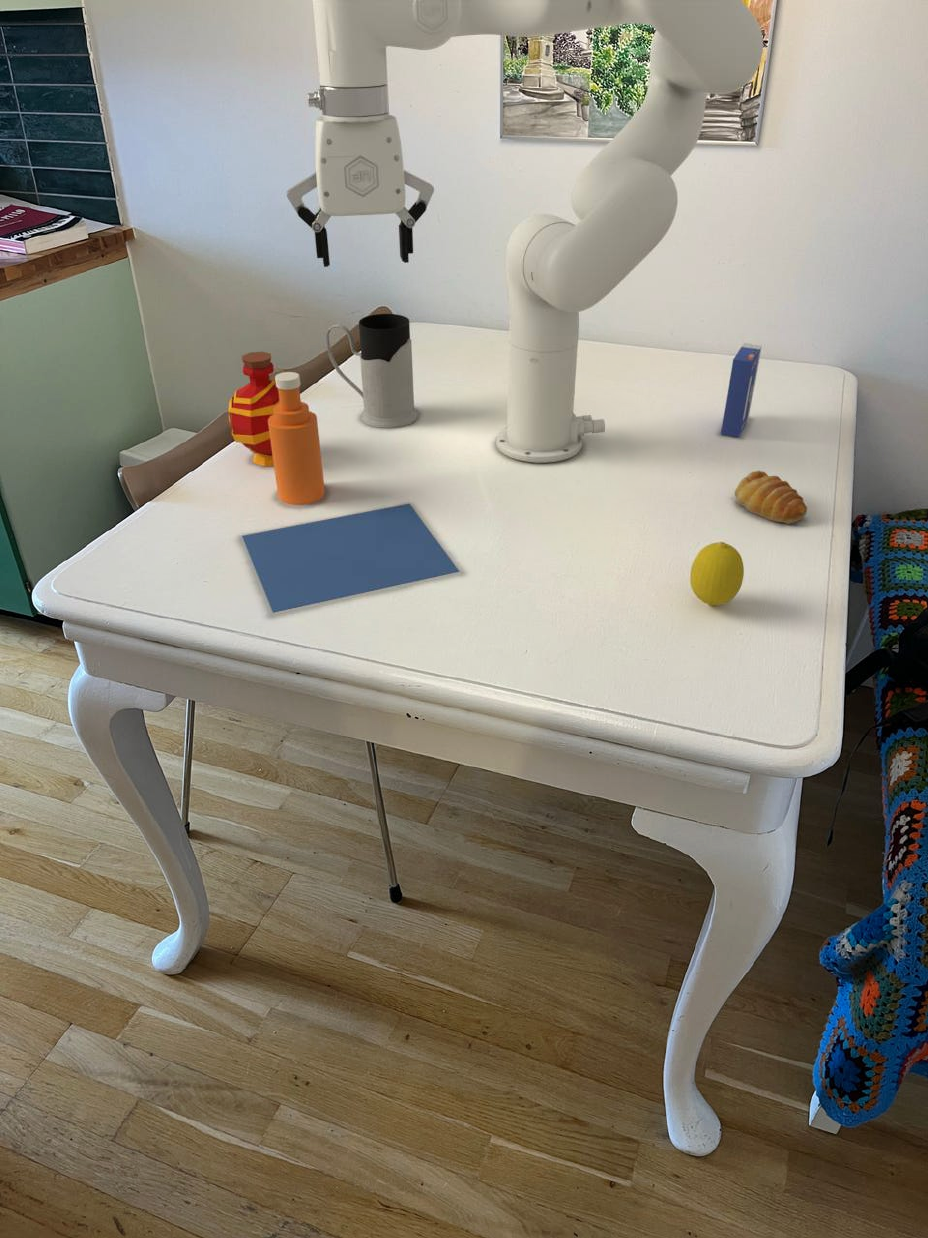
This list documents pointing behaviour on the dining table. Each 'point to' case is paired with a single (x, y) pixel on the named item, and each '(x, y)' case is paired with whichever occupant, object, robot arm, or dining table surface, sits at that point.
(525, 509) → the dining table surface
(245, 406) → the potion bottle
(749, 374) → the walkman
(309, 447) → the bottle
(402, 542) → the cloth
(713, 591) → the lemon
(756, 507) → the pastry
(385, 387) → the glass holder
